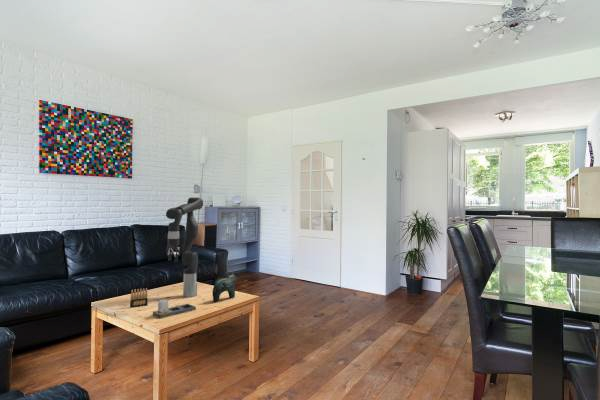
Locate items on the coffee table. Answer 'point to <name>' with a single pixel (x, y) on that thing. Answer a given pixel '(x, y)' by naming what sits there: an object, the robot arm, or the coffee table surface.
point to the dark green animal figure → (224, 287)
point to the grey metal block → (162, 306)
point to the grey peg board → (175, 310)
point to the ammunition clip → (139, 298)
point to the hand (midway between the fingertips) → (172, 261)
